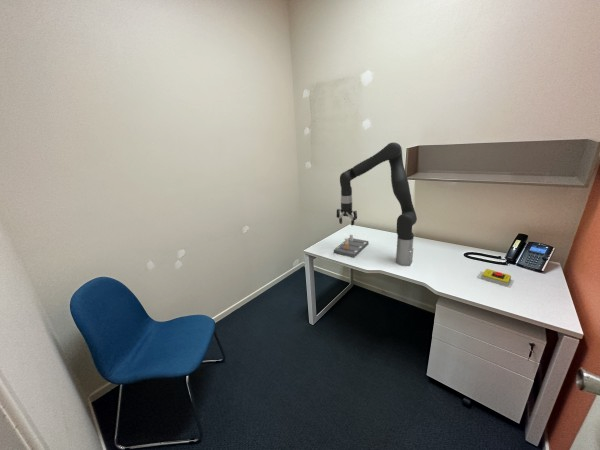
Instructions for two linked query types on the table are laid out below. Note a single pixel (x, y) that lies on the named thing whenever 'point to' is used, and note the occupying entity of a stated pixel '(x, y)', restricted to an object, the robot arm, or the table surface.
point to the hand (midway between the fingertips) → (346, 224)
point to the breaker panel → (351, 247)
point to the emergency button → (496, 277)
